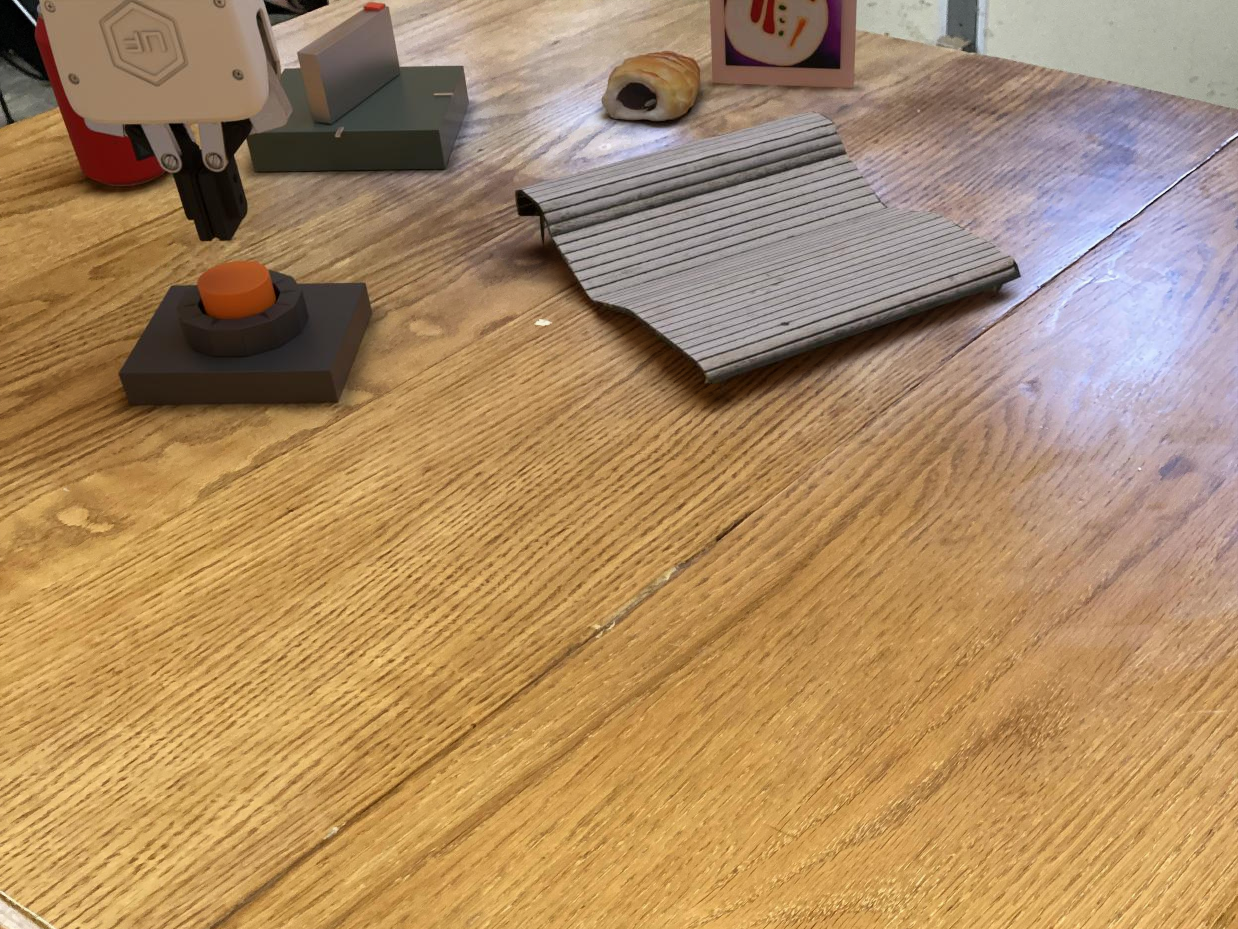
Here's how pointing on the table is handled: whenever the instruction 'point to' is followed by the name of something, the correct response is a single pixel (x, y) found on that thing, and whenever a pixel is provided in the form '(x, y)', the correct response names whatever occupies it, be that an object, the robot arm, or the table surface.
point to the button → (236, 290)
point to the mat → (755, 245)
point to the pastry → (652, 87)
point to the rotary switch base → (370, 126)
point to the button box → (250, 348)
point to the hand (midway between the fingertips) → (222, 229)
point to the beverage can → (97, 135)
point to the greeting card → (783, 42)
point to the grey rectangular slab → (349, 63)
